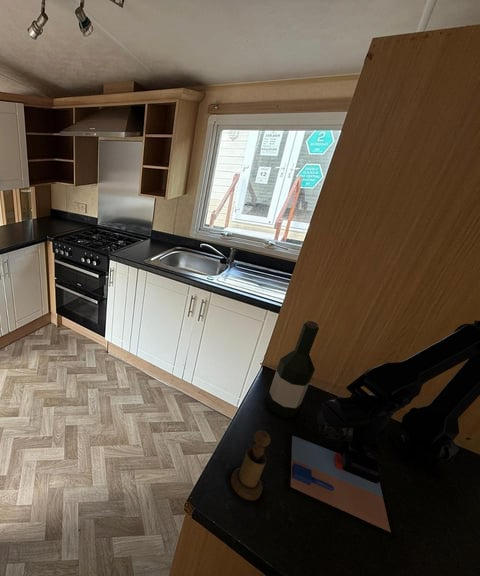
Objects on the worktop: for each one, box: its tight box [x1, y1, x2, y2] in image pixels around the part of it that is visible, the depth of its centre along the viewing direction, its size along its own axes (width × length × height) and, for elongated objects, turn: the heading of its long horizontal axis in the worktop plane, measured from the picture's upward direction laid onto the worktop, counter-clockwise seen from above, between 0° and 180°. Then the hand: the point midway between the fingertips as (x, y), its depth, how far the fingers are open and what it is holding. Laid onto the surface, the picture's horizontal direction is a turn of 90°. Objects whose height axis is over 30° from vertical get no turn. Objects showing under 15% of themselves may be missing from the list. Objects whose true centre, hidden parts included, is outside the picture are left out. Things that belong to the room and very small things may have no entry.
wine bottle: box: [265, 320, 320, 418], centre depth 87 cm, size 8×8×30 cm
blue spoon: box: [292, 463, 334, 491], centre depth 73 cm, size 8×3×2 cm, turn 59°
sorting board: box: [290, 435, 392, 533], centre depth 74 cm, size 18×16×1 cm
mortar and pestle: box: [230, 429, 272, 501], centre depth 69 cm, size 7×6×18 cm
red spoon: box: [334, 452, 345, 471], centre depth 75 cm, size 8×3×2 cm, turn 59°
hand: (344, 464), depth 76 cm, fingers closed on red spoon, 3 cm apart
